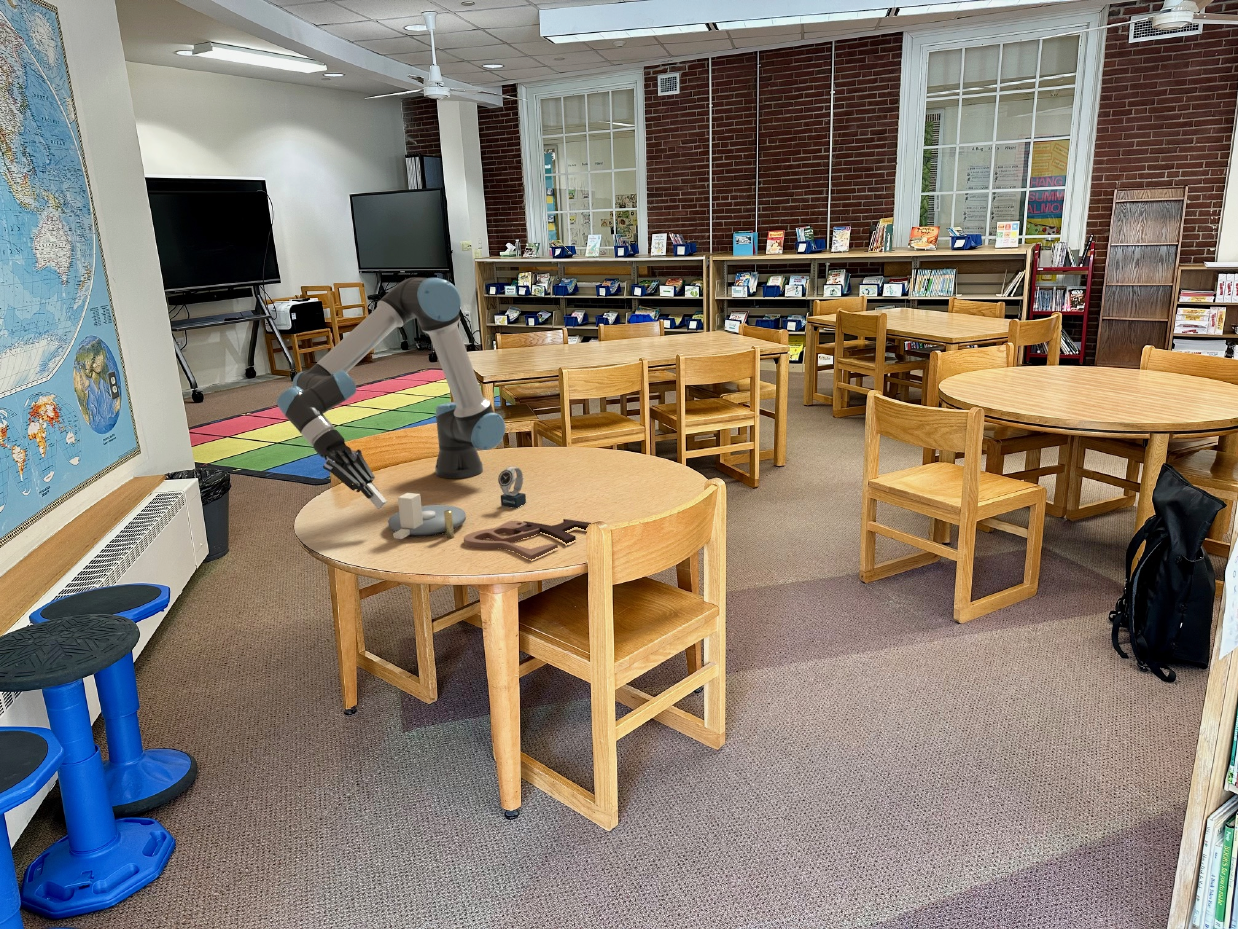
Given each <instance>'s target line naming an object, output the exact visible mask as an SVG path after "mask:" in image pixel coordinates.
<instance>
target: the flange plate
mask: <svg viewBox="0 0 1238 929" xmlns="http://www.w3.org/2000/svg"><path fill="white" fill-rule="evenodd" d="M421 498H422V497H421V493H412V492H406V493H404V494H402V495H400V496H398V497H397V500H398V501H397V502H398V512H396V513H394V514H392V515H390V516H389V518H388V520H387V526H388V528H389V529H390V530H391V531H392V532H393V531H394V533H393V534H392V535H393V539H400V540H402V539H404V538H406V537H409V536H408V535H409V534H429V533H436V532H442V531H446V530H445V519H444V511H445V510H452V518H453V528H455V527H457V526H461V525H462V524H464V523H465V521H466V519H467V516H466V511H465V510H464V509H463V508H461V507H457V506H453V505H447V504H445V505H444V504H431V505H422V500H421ZM457 528H458V527H457ZM455 529H456V528H455Z"/></svg>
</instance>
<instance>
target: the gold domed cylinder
mask: <svg viewBox="0 0 1238 929" xmlns="http://www.w3.org/2000/svg"><path fill="white" fill-rule="evenodd" d="M444 519H445V530H446V533H445V538H446V539H448V540H449V539H454V538H455V533H454V530H455V529H454V530H453V518H452V510H445V511H444Z"/></svg>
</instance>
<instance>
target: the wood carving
mask: <svg viewBox="0 0 1238 929" xmlns="http://www.w3.org/2000/svg"><path fill="white" fill-rule="evenodd" d="M562 521H563V522H561V523H560V522H559V523H558V524H554V525H551V524H545V523H539V522H532V521H526V520H525V521H519V520H509V521H507V522H504V523H502V524H500V525H499V526H497V527H492V528H485V529H481V530H477V531H473V532H469V533H468V534H466V535H465V536H464V537H463V545H464V546H465V547H467V548H472V549H481V550H504V549H507V550H506V551H508V550H510V551H514V552H515V553H518V554H520V555H521V556H524V557H526V558H528V559H531V560H532V559H535V558H536V557H539V556H541V555H543V554H545V553H547V552H549V551H551V550H553V549H555V548H558V549H559V547H558V546H559V545H558V543H548V544H544V545H539V546H536V547H532V548H528V547H523V546H521V545H517V544H515V543H516V542H515V541H518V540H521V539H523V538H527V537H531V536H534V535H536V534H539V533H540V532H542V533H545V534H548V535H551V536H553V537H555V538H558V539H560V540H562V541H563V542H565V543H566V544H567V543H569V542H572V541H574V540H576V538H577V537H576V535H575V534H572V533H567V532H565V531H567V530H570V529H572V528H574V527H578V528H581V529H584V530H586V528H587V527H588V525H589V524H591V523H592V522H588V521H582V520H581V521H580V520H574V519H568V518H567V519H566V518H563V520H562ZM503 533H506V534H505V535H508V536H504V534H503ZM498 534H500V535H498ZM515 534H516V535H515ZM502 535H503V536H502ZM486 538H489V539H488V540H487V539H486ZM491 539H492V540H491ZM493 540H494V541H493ZM521 541H522V540H521ZM576 541H577V540H576ZM511 542H514V543H511ZM518 542H519V541H518ZM498 548H499V549H498ZM500 548H501V549H500ZM510 551H509V552H510ZM515 553H514V554H515ZM521 556H520V557H521Z"/></svg>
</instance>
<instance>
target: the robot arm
mask: <svg viewBox="0 0 1238 929" xmlns="http://www.w3.org/2000/svg"><path fill="white" fill-rule="evenodd" d="M455 286H456V285H454V284H453V283H451V282H450V281H448V280H446V279H442V278H440V277H439V278H438V277H428V278H427V277H409V278H406V279H404V280H403V281H401V282H399V283H398V284H397V285H395V286H394V287H393V288H391V289H390V291H389V292H388V293H386V294H385V295H384V296H383V297H382V298H381V299H380V300H378V301H377V304H376V306H377V307H376V308H375V309H374V310H373V311H372V312H371V313H370V314H369V315H367V316H366V317H365V318H364V319H363V320H362V321H361V322H360V323H358V325H356V326H355V327H354V329H352V330H351V331H350V332H349V333H347V335H346V336H345V337H344V338H342V340H340V341H339V342H338V343H337V344H336V345H335V346H333V348H331V349H330V350H329V352H327V353H326V354H325V355H324V356H323V357H322V358H321V359H319V360H318V361H317V363H315V364H314V365H312V367H311V368H310V369H309V370H304V371H300V372H298V373H296V374H295V376H294V377H293V380H292V387H288V388H286V389H285V390H284V391H283V392H282V393H281V394H280V395H279V396H278V397H277V400H276V404H277V407H278V408H279V410H280V411H281V413H283V415H284V416H285V418H286V419H287V420H288V421H289V422H290V423H291V424H292V425H293V426H294V427H295V428H296V430H297V431H298V432H299V434H301V436H303V438H304V439H305V440H306V442H308V443H309V444H310V446H312V449H313V450H314V451H315V452H316V453H317V454H318V456H319V457H320V458H324V461H325V462H324V464H323V466H322V468H323V469H324V470H326V471H328V472H329V473H331V474H332V475H333V476H334V477H335V478H337V480H339V481H341V482H342V483H343V484H344V485H345V486H346V487H348V489H350V490H351V491H353V492H356V493H360V492H361V493H362V494H363V496H364V497H365V498H366V499H368V500H369V501H370V502H371V503H372V505H373V506H374V507H375V508H376V509H377V510H380V509H382V507H383V506H385V504H386V503H387V502H388V501H387V499H386V498H385V497H384V496H383V494H382V493H381V492H380V490H379V489H378V488H377V487H376V485H375V484H374V483H373V482H374V480H375V478H376V477H375V475H374V473H373V471H372V470H371V468H370V466H369V465H368V463H367V462H366V459H365V458H364V457H363V453H362V450H361V449H357V450H352V449H351V447H350V446H348V445H346V439H345V438H344V436H342V434H341V433H340V432H339V430H338V429H336V428H335V426H334V425H333V424H332V422H331V421H330V420H329V419H328V418H327V417H326V416H325V415H324V414H325V413H326V412H328V411H330V410H332V409H333V408H335V407H337V406H338V405H340V404H342V403H344V402H346V401H348V400H349V399H350V398H352V397H353V396H354V395H355V394H356V393H357V385H356V383H355V381H354V380H353V378H352V377H351V375H349V372H350V370H352V369H353V368H354V367H355V366H356V365H357V364H358V363H359V362H360V361H361V360H362V359H364V357H366V356H367V354H369V353H370V352H371V351H372V350H373V349H375V347H377V346H378V344H379V343H381V342H382V341H383V340H384V339H385V338H386V337H387V336H389V334H390V333H392V332H393V331H394V330H395V329H396V328H401V327H403V326H404V325H406V324H407V323H408V322H409V321H411V320H414V319H417V322H418V324H419V326H420V329H421V331H422V332H423V333H426V334H427V335H429V338H430V340H431V343H432V346H433V348H434V351H435V354H436V357H437V358H438V363H439V364H440V367H441V370H442V371H443V374H444V377H445V380H446V383H447V385H448V388H449V390H450V393H451V396H452V399H453V402H452V401H451V402H446V403H442V404H438V405H437V406H436V408H435V419H436V428H437V430H436V431H437V439H438V440H437V442H438V455H437V459H436V463H435V467H434V468H435V475H436V476H437V477H440V478H443V479H462V478H470V477H474V476H477V475H480V474H481V473H483V471H484V468H483V467H484V466H483V463H482V460H481V458H480V456H479V452H478V450H486V451H487V450H492V449H494V448H496V447H497V446H499V445H500V443H501V442H502V440H503V439H504V436H505V432H506V423H505V420H504V419H503V416H502V415H500V414H498V413H496V412H494V409H493V406H492V402H491V400H490V399H488V398H486V397H484V396H483V393H482V390H481V387H480V385H479V381H478V379H477V376H476V373H475V370H474V368H473V365H472V363H471V358H470V357H469V354H468V351H467V348H466V346H465V345H466V344H465V343H464V340H463V337H462V334H461V332H460V329H459V326H458V324H459V322H460V320H461V316H460V311H461V309H460V307H461V306H462V299H461V295H460V292H459V290H458V289H457V287H455Z"/></svg>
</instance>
